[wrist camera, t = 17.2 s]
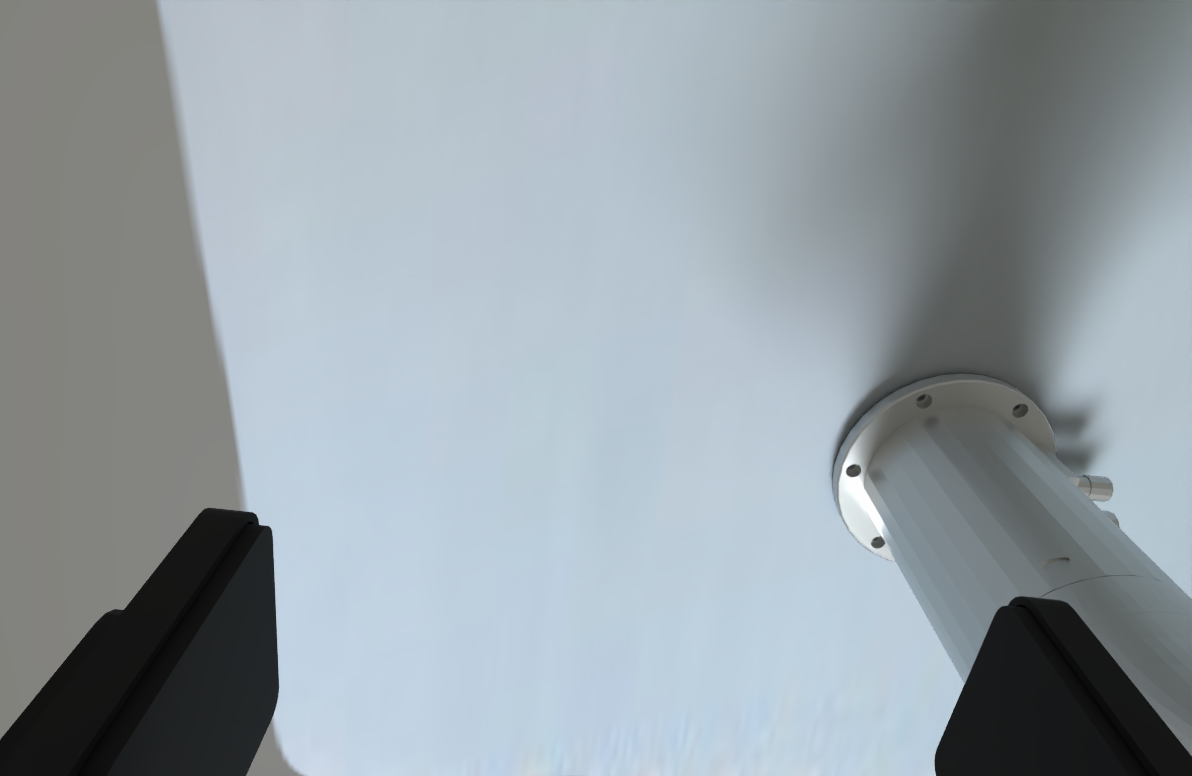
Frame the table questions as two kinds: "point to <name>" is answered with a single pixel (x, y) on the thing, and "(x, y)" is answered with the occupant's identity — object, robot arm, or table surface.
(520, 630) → the table surface
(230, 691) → the robot arm
